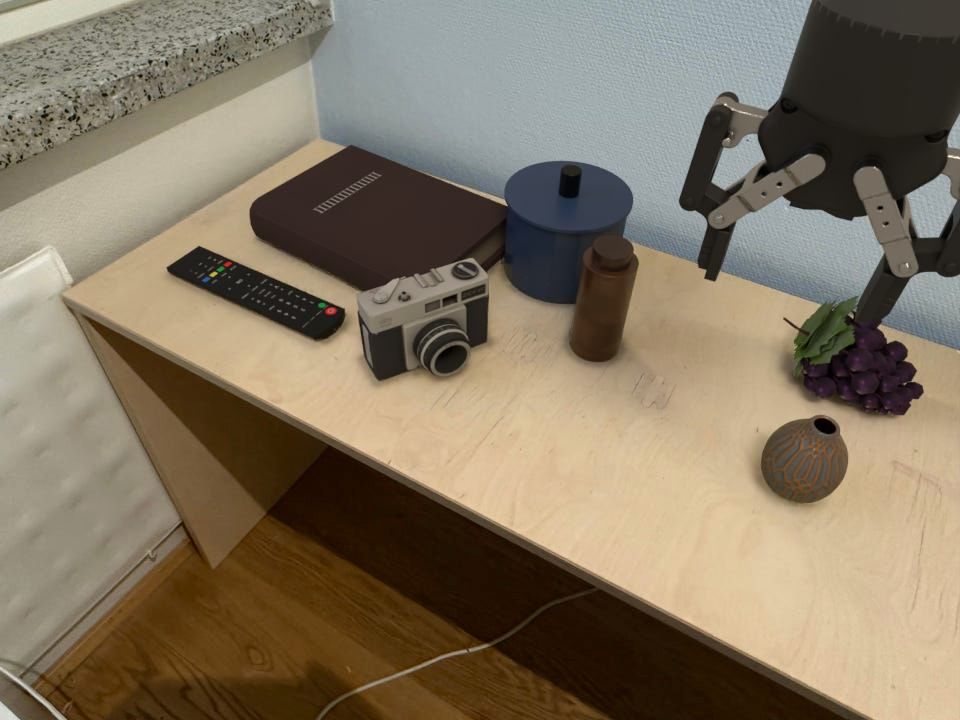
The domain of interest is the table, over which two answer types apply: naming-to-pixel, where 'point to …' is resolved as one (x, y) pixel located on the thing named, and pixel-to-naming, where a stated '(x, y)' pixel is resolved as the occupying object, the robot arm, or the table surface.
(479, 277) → the camera
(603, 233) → the pot
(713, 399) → the table surface
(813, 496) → the vase
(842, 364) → the fruit
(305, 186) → the brown slab
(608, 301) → the pepper mill
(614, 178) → the pot lid
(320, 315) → the remote control
